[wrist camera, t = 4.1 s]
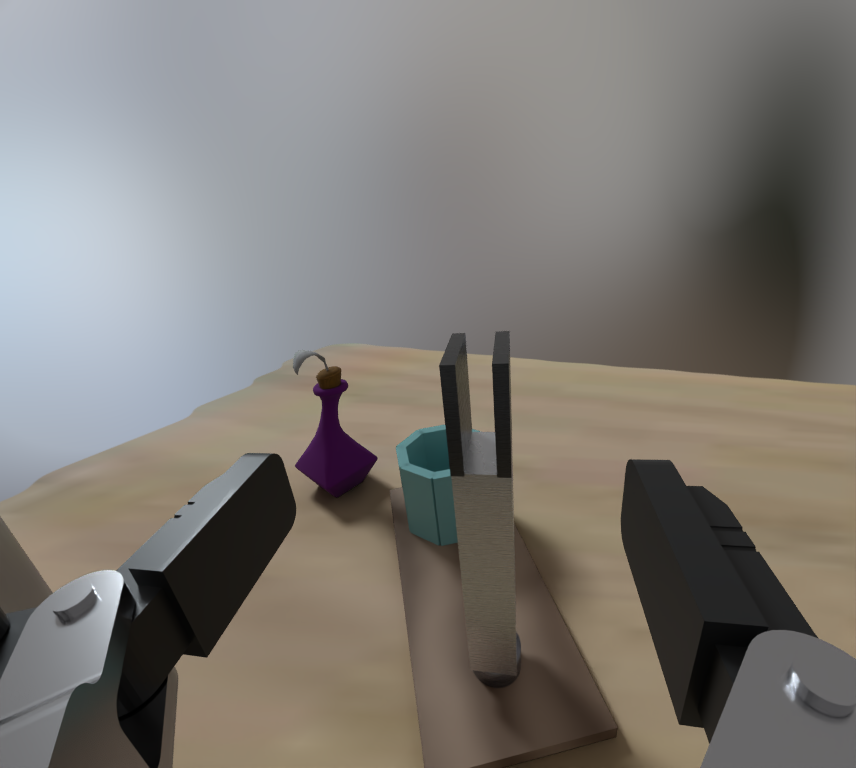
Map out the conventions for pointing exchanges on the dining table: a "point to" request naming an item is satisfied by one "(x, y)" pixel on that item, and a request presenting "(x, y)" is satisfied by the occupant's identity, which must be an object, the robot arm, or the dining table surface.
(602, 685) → the dining table surface
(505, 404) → the grey long forked bar
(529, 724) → the walnut board
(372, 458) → the perfume bottle
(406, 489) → the crock
